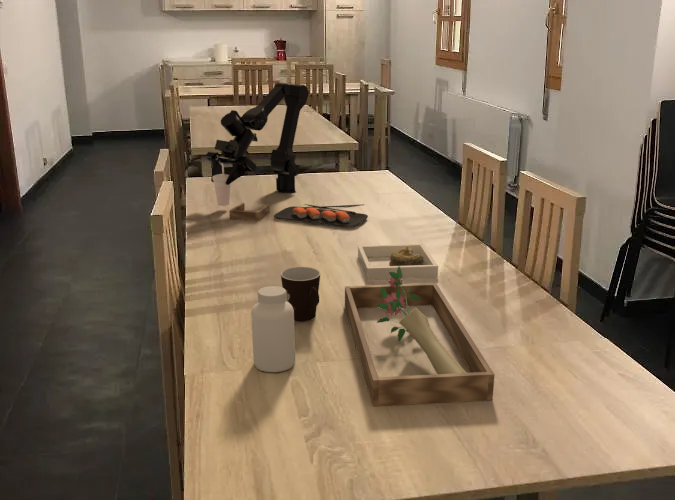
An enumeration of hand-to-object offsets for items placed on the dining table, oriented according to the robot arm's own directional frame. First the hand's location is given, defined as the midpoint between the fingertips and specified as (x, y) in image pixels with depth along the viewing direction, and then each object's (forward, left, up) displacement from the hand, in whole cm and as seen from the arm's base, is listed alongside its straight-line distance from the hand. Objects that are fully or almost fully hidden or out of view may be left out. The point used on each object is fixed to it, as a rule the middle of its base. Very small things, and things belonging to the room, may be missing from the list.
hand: (219, 182), depth 235 cm
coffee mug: (-22, +90, -10) cm, 93 cm away
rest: (-10, +7, -10) cm, 15 cm away
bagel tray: (-49, +59, -10) cm, 77 cm away
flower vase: (-44, +109, -10) cm, 118 cm away
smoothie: (-1, -1, -8) cm, 8 cm away
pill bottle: (-16, +110, -10) cm, 112 cm away
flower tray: (-43, +106, -10) cm, 115 cm away
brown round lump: (-52, +58, -10) cm, 79 cm away
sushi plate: (-36, +6, -10) cm, 38 cm away
